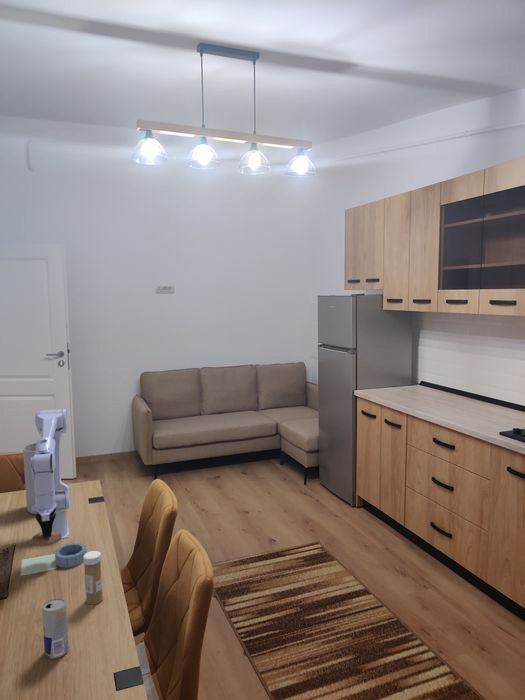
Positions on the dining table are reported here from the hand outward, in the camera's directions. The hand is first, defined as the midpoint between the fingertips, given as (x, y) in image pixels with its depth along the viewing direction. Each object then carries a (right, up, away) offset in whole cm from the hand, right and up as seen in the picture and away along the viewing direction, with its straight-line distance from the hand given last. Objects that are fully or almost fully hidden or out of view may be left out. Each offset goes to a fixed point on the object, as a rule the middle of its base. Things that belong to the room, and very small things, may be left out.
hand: (47, 533), depth 163 cm
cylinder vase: (-18, -5, +42) cm, 46 cm away
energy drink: (+18, -15, -38) cm, 45 cm away
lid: (0, -2, 0) cm, 2 cm away
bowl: (+6, -10, +3) cm, 12 cm away
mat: (-3, -10, 0) cm, 10 cm away
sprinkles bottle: (+20, -12, -18) cm, 30 cm away
